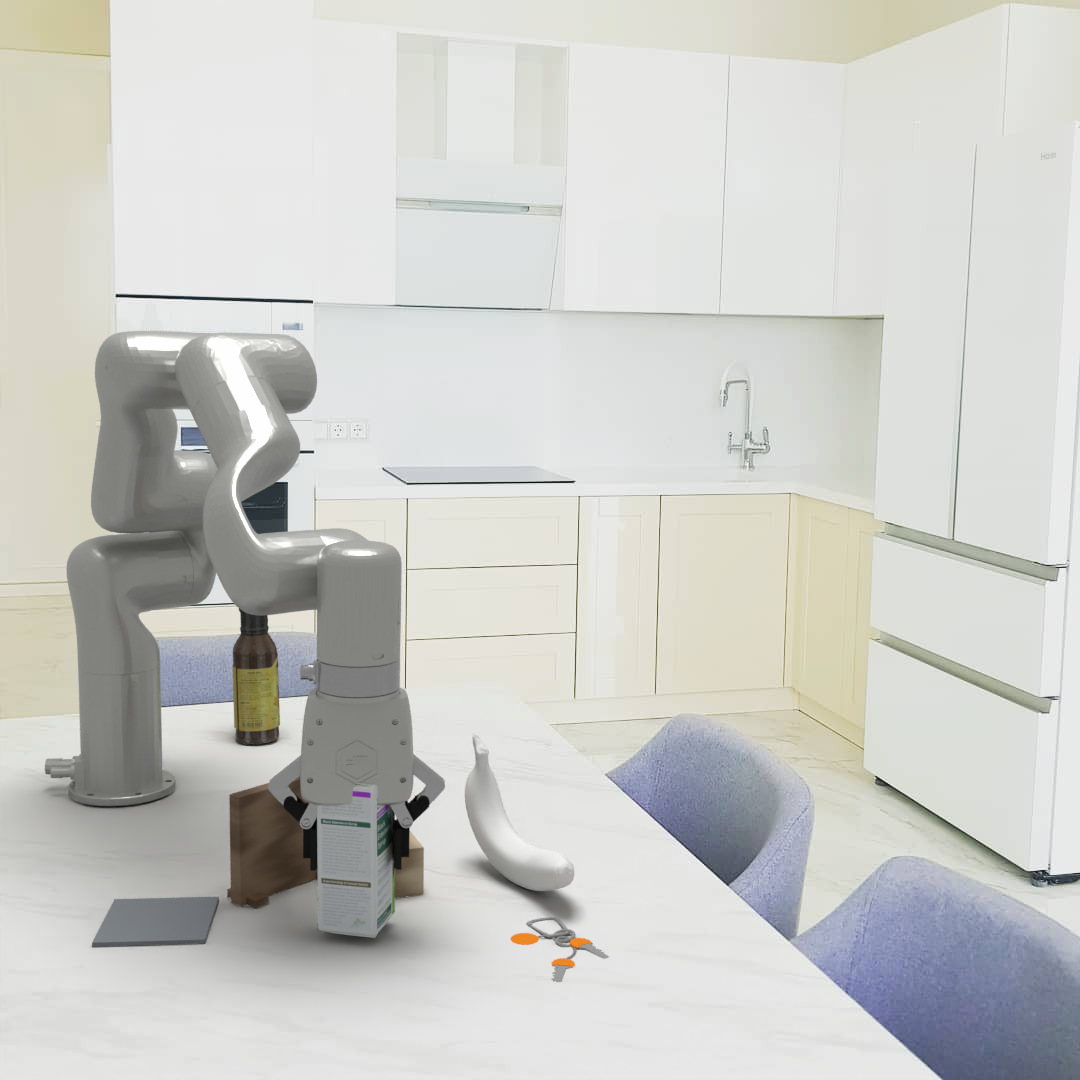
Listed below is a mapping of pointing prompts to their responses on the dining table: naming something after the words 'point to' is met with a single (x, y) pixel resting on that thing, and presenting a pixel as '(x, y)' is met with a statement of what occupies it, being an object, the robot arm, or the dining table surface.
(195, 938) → the mat
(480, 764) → the banana
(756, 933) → the dining table surface
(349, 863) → the syrup box
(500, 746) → the dining table surface
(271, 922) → the dining table surface
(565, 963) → the key chain
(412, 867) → the oak cube
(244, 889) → the screen
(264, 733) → the sauce bottle
